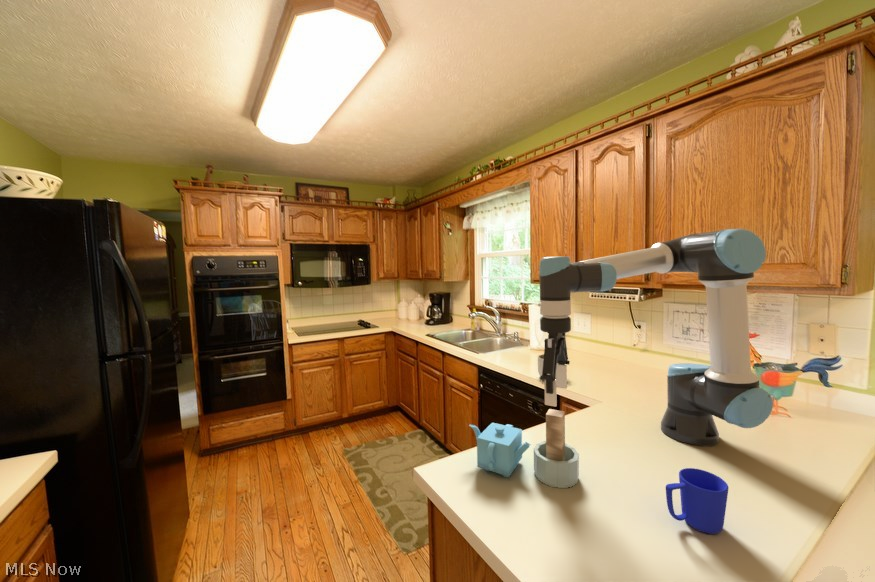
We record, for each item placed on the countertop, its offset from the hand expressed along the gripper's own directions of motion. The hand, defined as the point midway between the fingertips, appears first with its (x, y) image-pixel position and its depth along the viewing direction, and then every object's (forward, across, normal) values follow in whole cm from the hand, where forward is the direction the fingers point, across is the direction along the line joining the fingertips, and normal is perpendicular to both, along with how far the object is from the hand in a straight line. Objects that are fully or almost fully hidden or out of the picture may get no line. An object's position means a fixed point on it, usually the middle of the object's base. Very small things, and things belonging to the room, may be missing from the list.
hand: (556, 396), depth 88 cm
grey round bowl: (+22, 0, 0) cm, 22 cm away
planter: (+22, -81, -19) cm, 86 cm away
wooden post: (+20, 0, 0) cm, 21 cm away
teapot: (+22, +3, -15) cm, 27 cm away
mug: (+22, +4, +29) cm, 36 cm away
